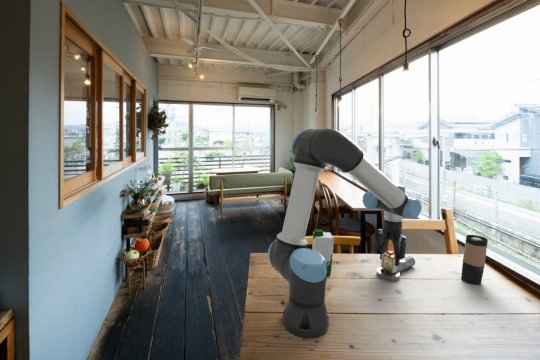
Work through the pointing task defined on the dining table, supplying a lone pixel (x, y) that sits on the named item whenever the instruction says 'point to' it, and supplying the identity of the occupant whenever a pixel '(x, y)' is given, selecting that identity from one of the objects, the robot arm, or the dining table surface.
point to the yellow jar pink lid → (388, 262)
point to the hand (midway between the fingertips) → (388, 269)
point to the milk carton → (324, 247)
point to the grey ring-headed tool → (402, 266)
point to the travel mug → (474, 259)
